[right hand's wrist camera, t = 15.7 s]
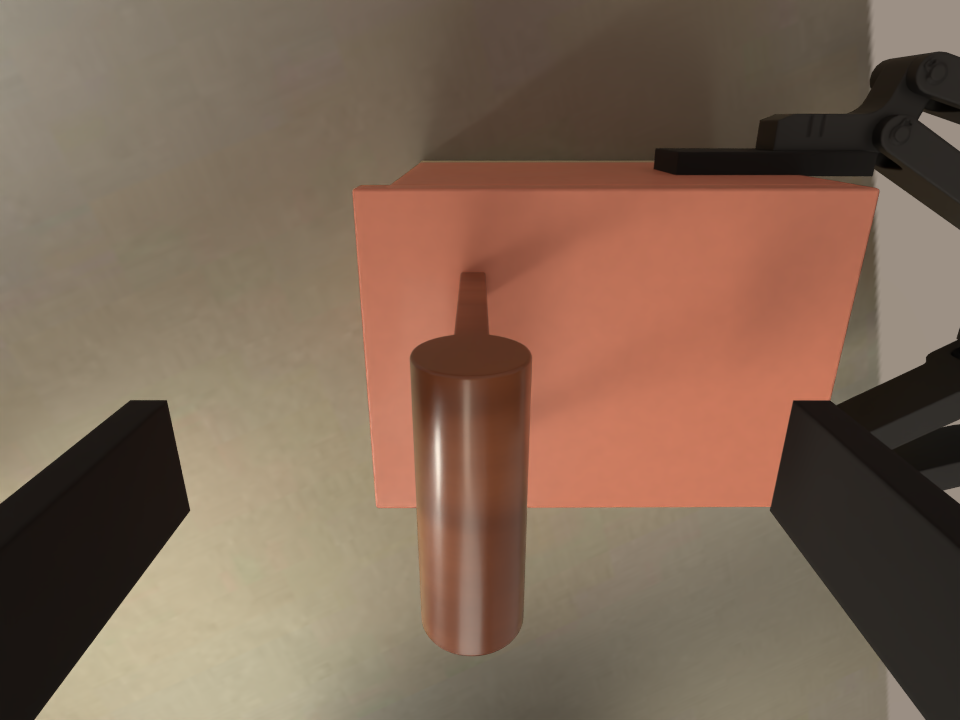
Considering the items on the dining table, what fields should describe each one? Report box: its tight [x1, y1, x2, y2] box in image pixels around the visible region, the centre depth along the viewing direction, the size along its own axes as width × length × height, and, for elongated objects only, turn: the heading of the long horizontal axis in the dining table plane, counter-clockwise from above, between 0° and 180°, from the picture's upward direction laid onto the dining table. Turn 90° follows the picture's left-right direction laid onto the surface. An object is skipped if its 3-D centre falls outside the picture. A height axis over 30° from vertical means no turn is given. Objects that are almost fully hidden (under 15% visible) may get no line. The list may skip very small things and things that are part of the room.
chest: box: [391, 161, 855, 185], centre depth 24 cm, size 13×10×11 cm
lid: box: [352, 185, 879, 656], centre depth 15 cm, size 14×10×9 cm
